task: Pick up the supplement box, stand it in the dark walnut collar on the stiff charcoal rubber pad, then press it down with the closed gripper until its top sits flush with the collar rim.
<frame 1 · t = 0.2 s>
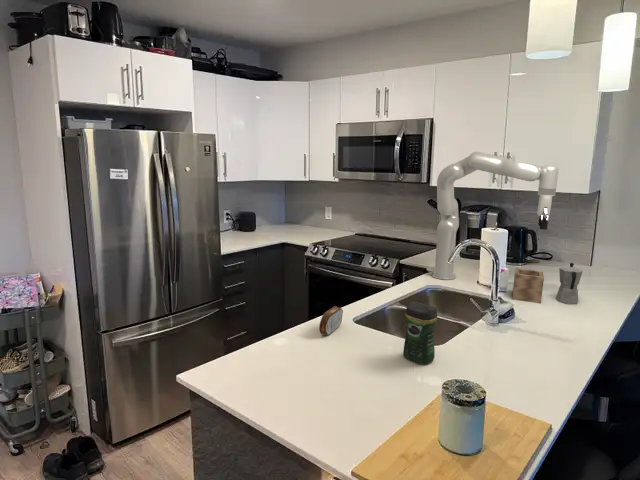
hand: (542, 227, 212), 31 cm above the worktop, tool pointing down, fingers open, 9 cm apart
supplement box: (498, 290, 215), on the worktop
rubber pad: (528, 281, 203), point 8 cm above the worktop, slide at 7.0 cm
coffeepot: (567, 302, 200), on the worktop
walnut collar: (526, 297, 204), on the worktop
tin: (331, 331, 163), on the worktop
coffee jar: (418, 358, 143), on the worktop
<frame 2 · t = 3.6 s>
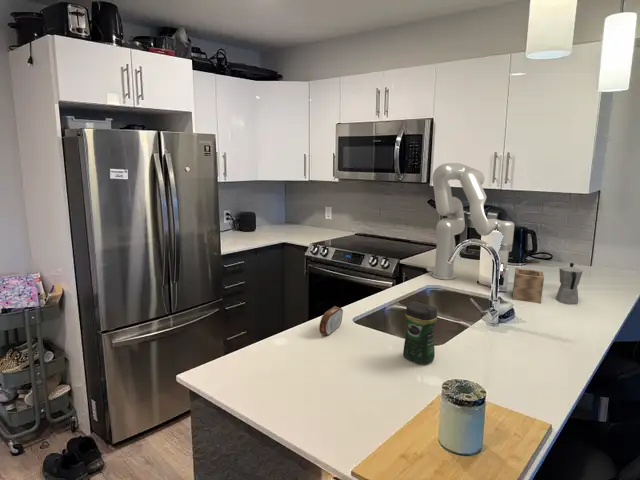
hand: (499, 282, 214), 4 cm above the worktop, tool pointing down, fingers closed on supplement box, 6 cm apart
supplement box: (498, 290, 215), on the worktop, touching gripper
everything else where it was.
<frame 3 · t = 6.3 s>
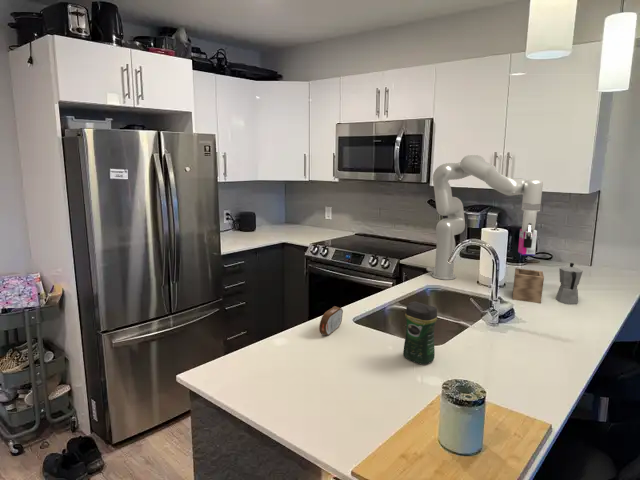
hand: (527, 245, 201), 24 cm above the worktop, tool pointing down, fingers closed on supplement box, 6 cm apart
supplement box: (526, 254, 202), point 20 cm above the worktop, touching gripper
everything else where it was.
when the fingers open (13 cm above the worktop, at t = 9.0 s): supplement box drops 8 cm, resting on rubber pad.
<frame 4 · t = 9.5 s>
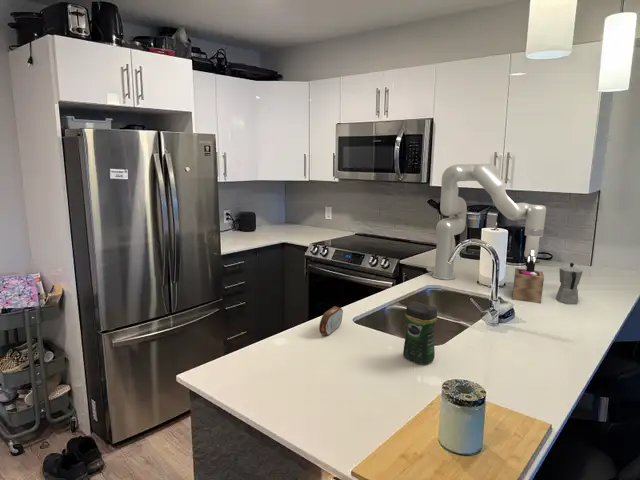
hand: (529, 269, 202), 14 cm above the worktop, tool pointing down, fingers open, 9 cm apart
supplement box: (525, 296, 205), point 1 cm above the worktop, touching rubber pad
rubber pad: (526, 296, 204), resting in walnut collar, slide at -0.2 cm, touching supplement box
everything else where it was.
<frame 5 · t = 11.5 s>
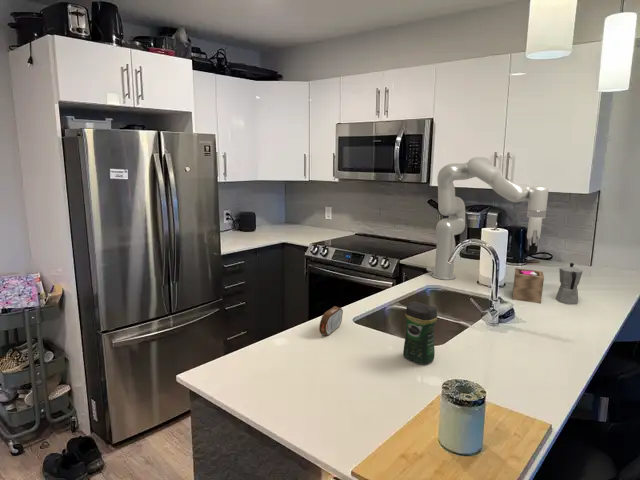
hand: (532, 254, 200), 21 cm above the worktop, tool pointing down, fingers closed
nothing on the worktop moved.
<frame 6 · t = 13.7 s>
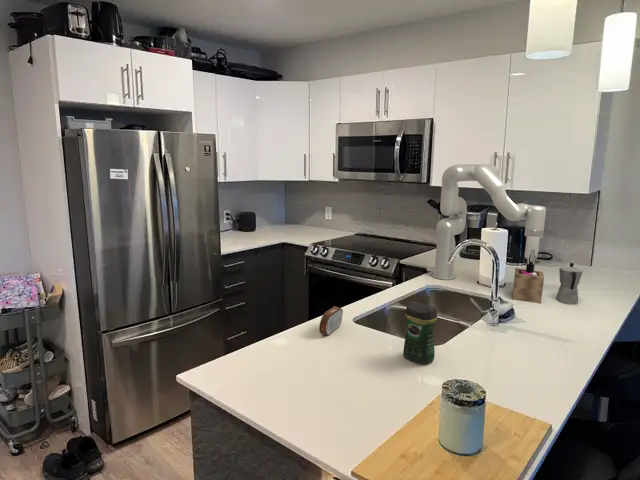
hand: (529, 272, 202), 12 cm above the worktop, tool pointing down, fingers closed
supplement box: (525, 296, 205), point 1 cm above the worktop, touching gripper, rubber pad
everything else where it was.
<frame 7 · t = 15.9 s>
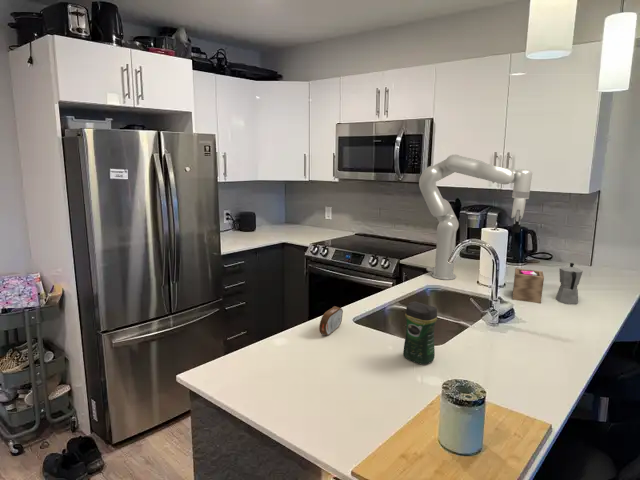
hand: (515, 232, 218), 27 cm above the worktop, tool pointing down, fingers closed
supplement box: (525, 296, 205), point 1 cm above the worktop, touching rubber pad
everything else where it was.
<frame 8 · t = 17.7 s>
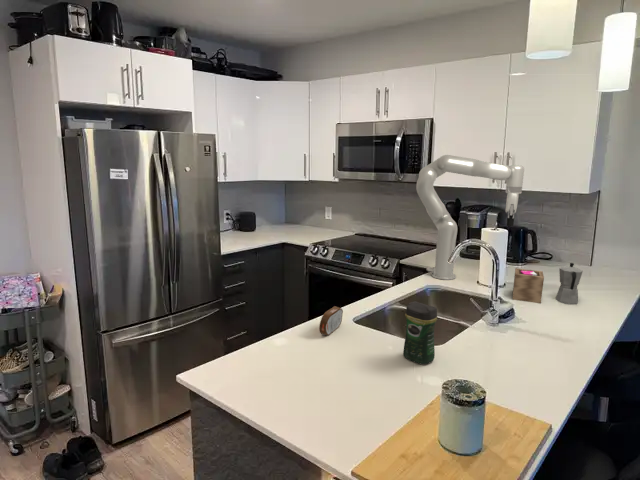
hand: (509, 225, 226), 29 cm above the worktop, tool pointing down, fingers closed
nothing on the worktop moved.
at the end: rubber pad slide at -0.2 cm; supplement box 0.4 cm off-centre on the walnut collar, point 0.6 cm above the walnut collar's base; supplement box tilted 0° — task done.
